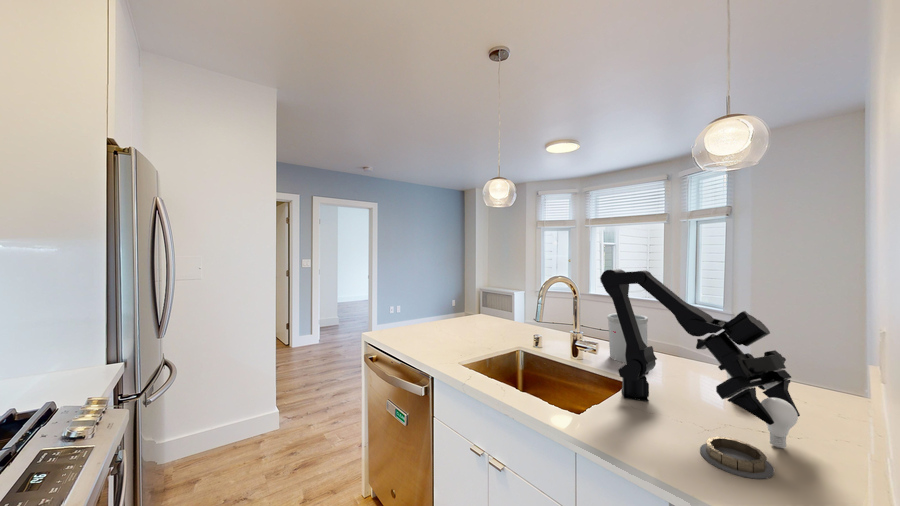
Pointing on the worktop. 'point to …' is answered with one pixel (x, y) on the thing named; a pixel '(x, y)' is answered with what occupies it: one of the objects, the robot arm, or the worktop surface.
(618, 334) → the utensil holder
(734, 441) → the socket collar
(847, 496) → the worktop surface
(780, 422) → the lightbulb
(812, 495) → the worktop surface
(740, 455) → the socket mat
